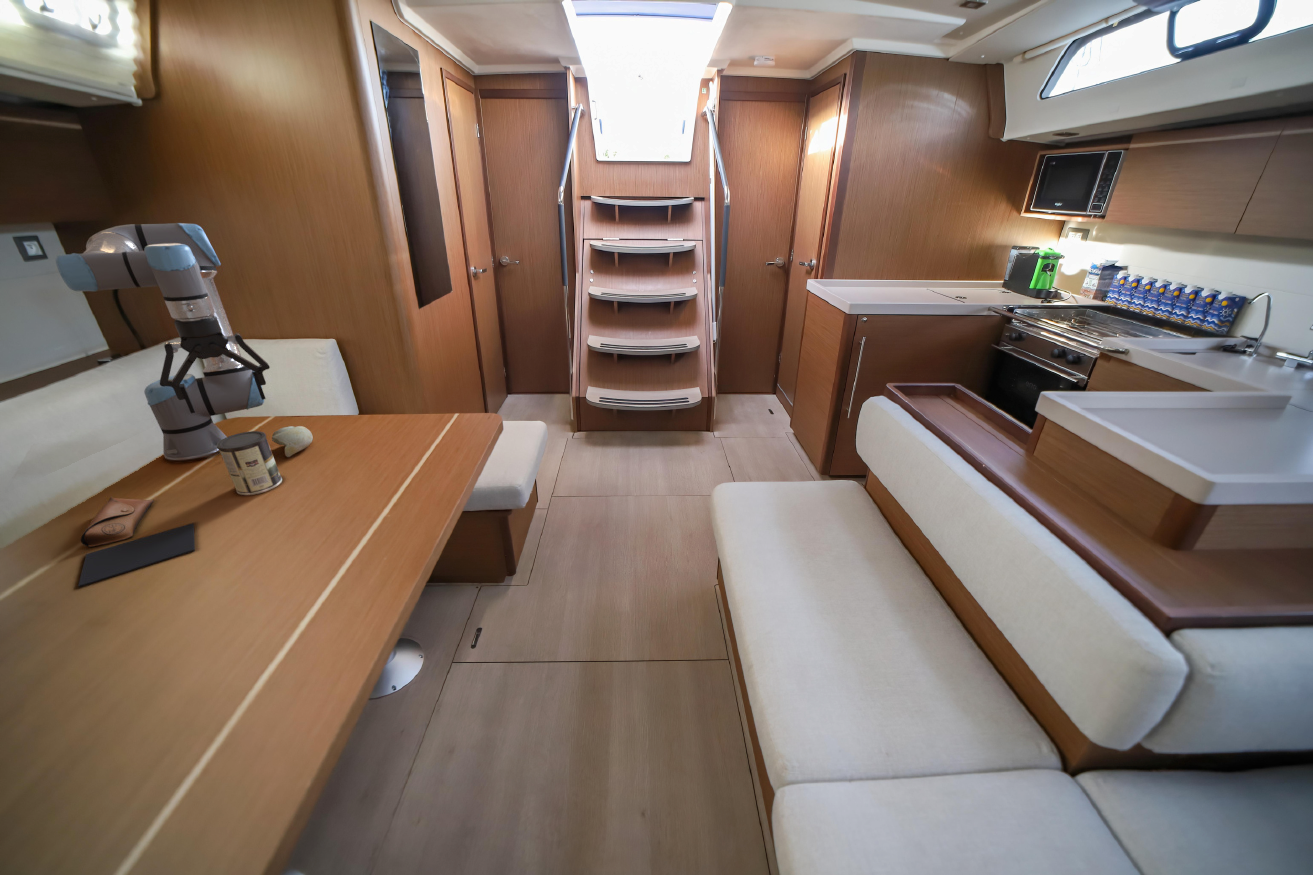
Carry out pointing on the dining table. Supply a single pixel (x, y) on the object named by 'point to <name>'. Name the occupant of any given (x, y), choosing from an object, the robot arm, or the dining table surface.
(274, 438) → the seashell
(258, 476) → the coffee can
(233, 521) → the dining table surface
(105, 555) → the place mat
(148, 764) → the dining table surface
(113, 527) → the sunglasses case
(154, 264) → the robot arm
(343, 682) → the dining table surface
